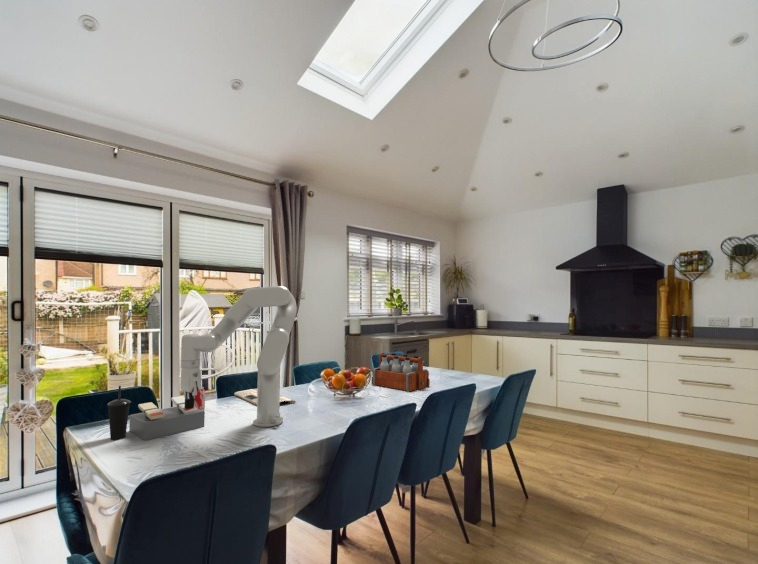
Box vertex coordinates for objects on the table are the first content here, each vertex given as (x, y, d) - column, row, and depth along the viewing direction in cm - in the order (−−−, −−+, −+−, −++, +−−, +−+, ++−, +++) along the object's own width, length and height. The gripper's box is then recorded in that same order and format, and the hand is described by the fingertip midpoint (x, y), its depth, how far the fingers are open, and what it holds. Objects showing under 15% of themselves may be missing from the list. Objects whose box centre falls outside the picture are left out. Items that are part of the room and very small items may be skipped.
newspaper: (234, 396, 226) (234, 391, 226) (266, 391, 239) (266, 386, 239) (263, 410, 198) (263, 404, 198) (298, 403, 211) (298, 398, 211)
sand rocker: (164, 417, 160) (164, 413, 160) (150, 420, 157) (151, 416, 157) (151, 405, 170) (151, 401, 170) (138, 407, 166) (138, 403, 166)
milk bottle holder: (413, 392, 235) (413, 359, 236) (368, 384, 258) (368, 354, 259) (433, 387, 251) (432, 355, 252) (389, 379, 274) (389, 351, 275)
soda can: (198, 415, 187) (199, 389, 187) (184, 414, 188) (185, 388, 188) (207, 411, 193) (208, 386, 194) (194, 410, 195) (195, 385, 195)
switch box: (204, 426, 171) (204, 408, 171) (144, 440, 153) (145, 420, 154) (181, 416, 185) (181, 399, 186) (124, 428, 168) (125, 409, 168)
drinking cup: (112, 442, 151) (114, 388, 152) (102, 439, 155) (104, 386, 156) (133, 437, 158) (135, 385, 158) (123, 433, 162) (125, 383, 163)
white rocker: (196, 411, 170) (197, 408, 170) (184, 414, 167) (185, 410, 166) (182, 398, 179) (183, 395, 179) (171, 400, 176) (171, 397, 175)
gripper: (207, 364, 168) (206, 409, 167) (191, 361, 178) (190, 403, 177) (189, 367, 162) (188, 413, 161) (173, 363, 172) (172, 406, 171)
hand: (189, 407), depth 169 cm, fingers closed
